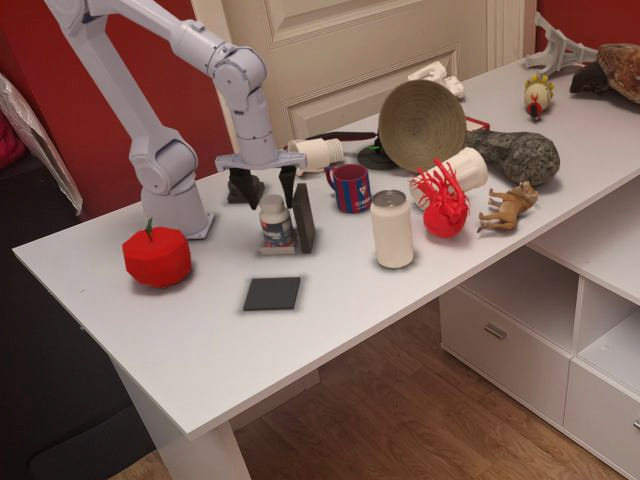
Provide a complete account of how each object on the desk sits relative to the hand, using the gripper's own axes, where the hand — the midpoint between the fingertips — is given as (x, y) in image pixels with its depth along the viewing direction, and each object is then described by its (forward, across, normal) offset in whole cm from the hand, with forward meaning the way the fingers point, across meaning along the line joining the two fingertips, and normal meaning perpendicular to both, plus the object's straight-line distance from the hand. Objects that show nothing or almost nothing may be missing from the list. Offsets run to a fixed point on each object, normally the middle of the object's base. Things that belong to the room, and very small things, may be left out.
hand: (272, 206), depth 120 cm
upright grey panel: (+8, -1, 0) cm, 8 cm away
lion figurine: (+5, -37, -7) cm, 38 cm away
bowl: (+3, -23, -35) cm, 42 cm away
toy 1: (+6, -6, -31) cm, 32 cm away
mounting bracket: (+3, -33, -65) cm, 73 cm away
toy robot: (+8, -17, -32) cm, 37 cm away
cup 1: (+8, -11, -14) cm, 19 cm away
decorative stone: (+3, -46, -26) cm, 53 cm away
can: (+8, -21, +6) cm, 23 cm away
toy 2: (+5, -50, -46) cm, 68 cm away
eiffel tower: (+1, -54, -76) cm, 93 cm away
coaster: (+8, -1, +15) cm, 17 cm away
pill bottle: (+8, 0, 0) cm, 8 cm away
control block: (+8, +10, -18) cm, 21 cm away
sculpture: (+7, -67, -65) cm, 94 cm away
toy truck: (+5, -34, -40) cm, 52 cm away
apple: (+8, +18, +9) cm, 22 cm away
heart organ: (+8, -28, -1) cm, 29 cm away
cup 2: (+5, -24, -10) cm, 27 cm away
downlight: (+4, +1, -25) cm, 26 cm away
